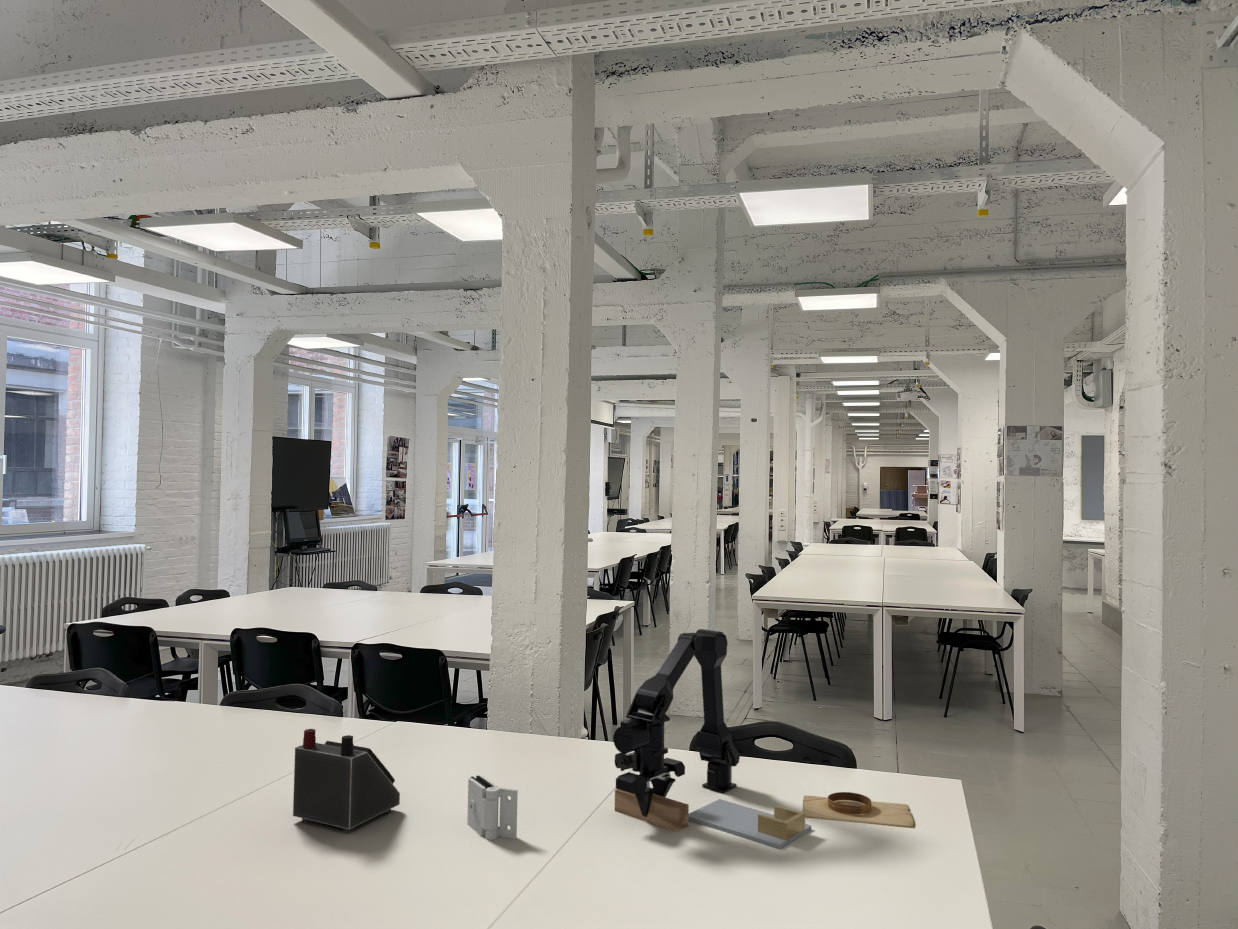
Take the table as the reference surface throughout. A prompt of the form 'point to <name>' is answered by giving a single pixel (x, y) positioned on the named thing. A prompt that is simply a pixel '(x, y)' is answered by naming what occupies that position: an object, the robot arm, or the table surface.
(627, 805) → the walnut rail
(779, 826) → the cup bracket
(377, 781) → the voltmeter
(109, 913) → the table surface
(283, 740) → the table surface
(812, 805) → the board
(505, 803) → the hinge
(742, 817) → the mounting board
